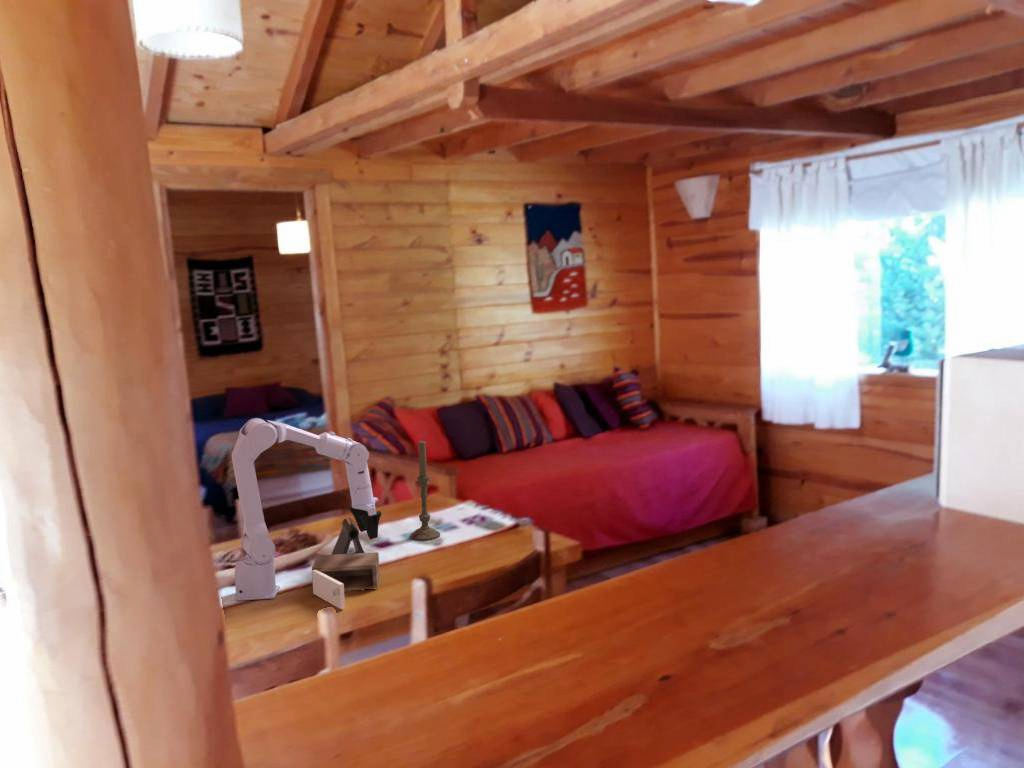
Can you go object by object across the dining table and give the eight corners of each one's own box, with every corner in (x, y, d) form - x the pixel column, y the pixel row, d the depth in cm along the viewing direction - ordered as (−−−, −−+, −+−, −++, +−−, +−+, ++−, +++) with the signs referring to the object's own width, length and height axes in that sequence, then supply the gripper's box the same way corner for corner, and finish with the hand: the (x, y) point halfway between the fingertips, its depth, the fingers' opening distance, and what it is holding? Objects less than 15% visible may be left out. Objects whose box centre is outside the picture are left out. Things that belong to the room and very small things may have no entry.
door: (309, 594, 209) (307, 571, 208) (316, 592, 210) (315, 569, 210) (337, 610, 198) (335, 586, 198) (344, 608, 200) (343, 583, 199)
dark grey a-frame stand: (362, 552, 237) (363, 515, 233) (368, 564, 232) (369, 526, 228) (330, 557, 233) (331, 520, 229) (335, 569, 228) (337, 531, 224)
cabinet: (313, 593, 211) (311, 568, 210) (318, 579, 221) (316, 555, 220) (377, 589, 212) (376, 564, 212) (379, 576, 222) (378, 552, 222)
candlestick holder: (407, 533, 260) (404, 438, 256) (436, 530, 262) (433, 435, 259) (413, 542, 251) (409, 443, 247) (443, 538, 254) (439, 440, 250)
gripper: (383, 487, 217) (392, 537, 220) (365, 476, 230) (374, 523, 232) (357, 495, 214) (366, 544, 216) (341, 483, 227) (349, 530, 229)
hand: (368, 534), depth 224 cm, fingers open, 7 cm apart
